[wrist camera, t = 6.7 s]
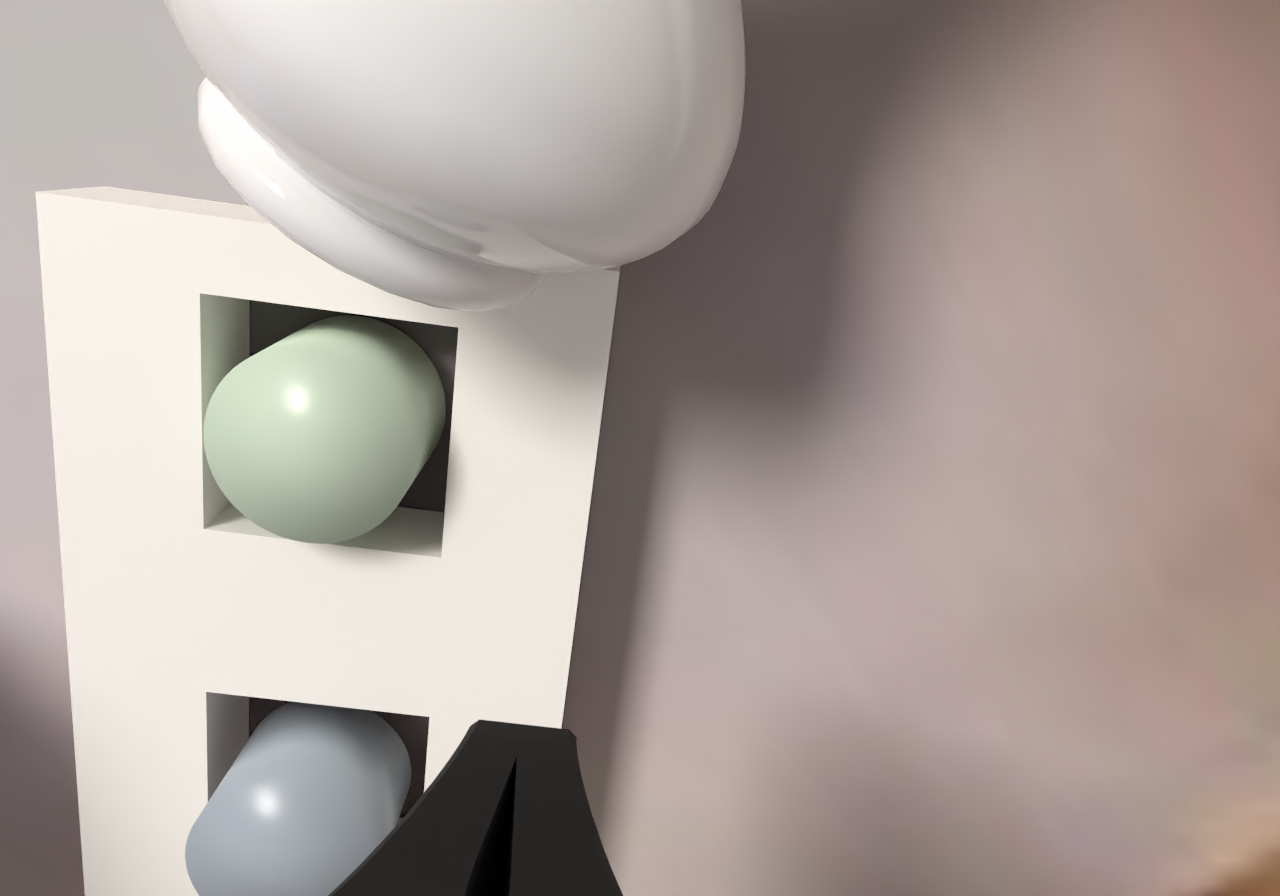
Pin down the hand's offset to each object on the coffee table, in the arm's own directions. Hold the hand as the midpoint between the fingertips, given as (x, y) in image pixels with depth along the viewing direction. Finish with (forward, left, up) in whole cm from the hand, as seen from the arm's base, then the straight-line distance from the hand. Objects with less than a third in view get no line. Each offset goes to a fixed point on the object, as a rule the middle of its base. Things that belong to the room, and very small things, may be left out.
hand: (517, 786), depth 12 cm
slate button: (-5, -7, -8) cm, 12 cm away
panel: (-5, -7, -10) cm, 13 cm away
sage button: (-5, +2, -10) cm, 11 cm away
